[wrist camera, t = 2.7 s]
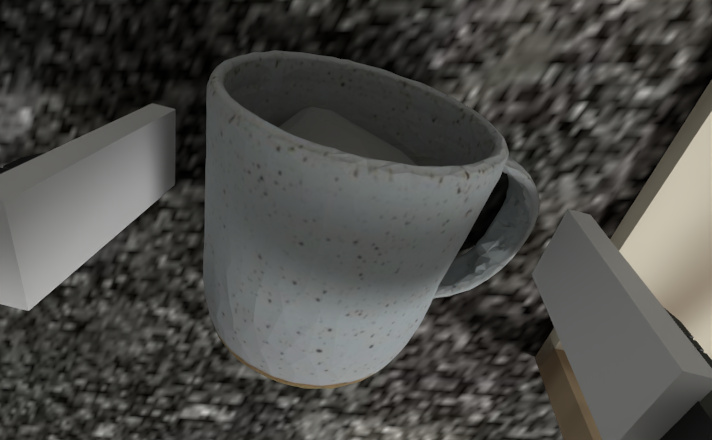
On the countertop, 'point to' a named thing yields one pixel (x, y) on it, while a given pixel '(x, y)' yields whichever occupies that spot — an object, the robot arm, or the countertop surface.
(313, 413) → the countertop surface
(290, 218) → the ceramic mug
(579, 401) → the tray
